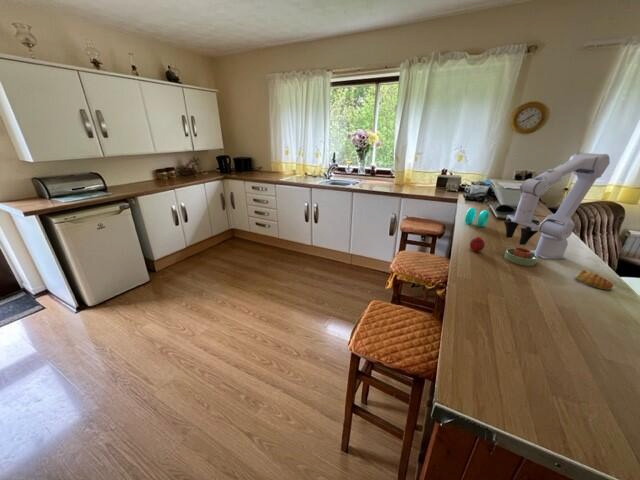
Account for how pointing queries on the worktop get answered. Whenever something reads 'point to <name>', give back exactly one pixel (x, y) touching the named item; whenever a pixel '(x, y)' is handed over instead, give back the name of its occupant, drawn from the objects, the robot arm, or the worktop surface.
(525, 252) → the small bowl
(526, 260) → the big bowl
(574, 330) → the worktop surface
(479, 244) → the onion
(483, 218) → the pair of cyan ovals
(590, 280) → the pastry
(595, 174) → the robot arm
